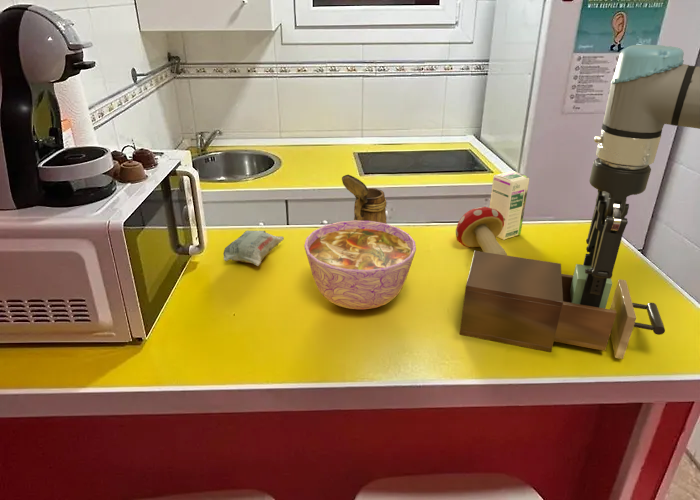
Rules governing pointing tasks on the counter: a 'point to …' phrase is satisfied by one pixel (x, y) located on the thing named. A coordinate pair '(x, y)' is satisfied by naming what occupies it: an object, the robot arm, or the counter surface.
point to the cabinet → (512, 300)
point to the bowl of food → (359, 262)
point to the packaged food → (251, 247)
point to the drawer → (603, 320)
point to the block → (579, 284)
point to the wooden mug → (366, 200)
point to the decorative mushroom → (481, 229)
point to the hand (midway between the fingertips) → (587, 298)
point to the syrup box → (510, 201)
